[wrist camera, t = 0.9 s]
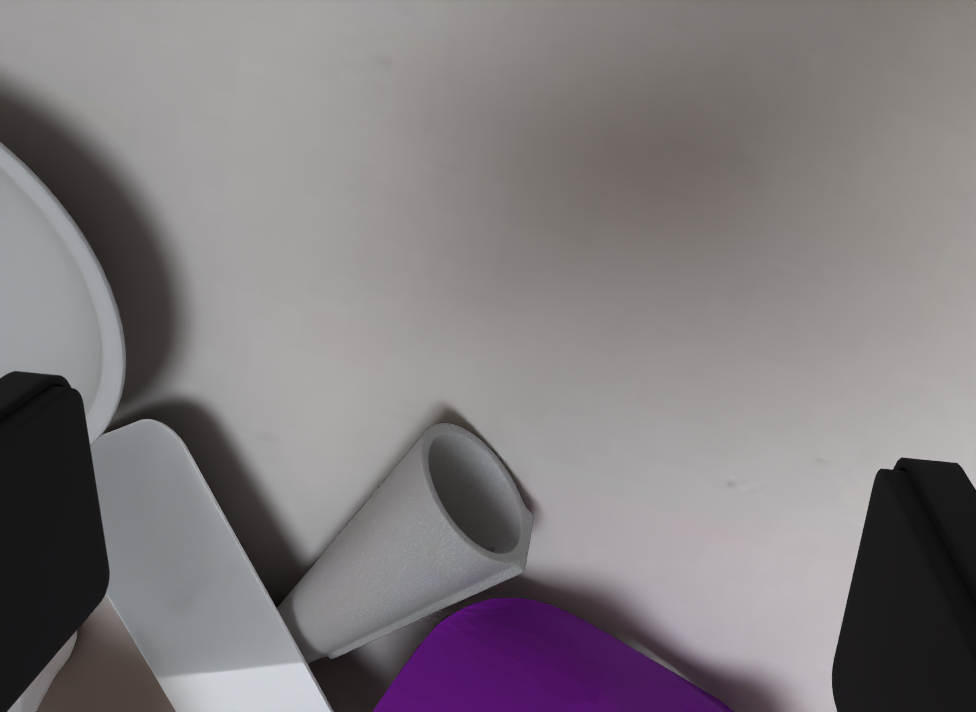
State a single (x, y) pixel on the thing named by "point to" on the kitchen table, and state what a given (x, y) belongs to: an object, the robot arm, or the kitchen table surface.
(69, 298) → the dish
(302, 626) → the grey hollow tube
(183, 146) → the kitchen table surface
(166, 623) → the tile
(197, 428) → the kitchen table surface
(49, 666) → the cup
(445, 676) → the mask
